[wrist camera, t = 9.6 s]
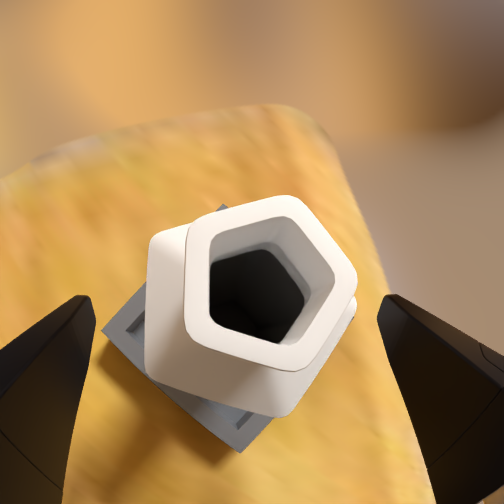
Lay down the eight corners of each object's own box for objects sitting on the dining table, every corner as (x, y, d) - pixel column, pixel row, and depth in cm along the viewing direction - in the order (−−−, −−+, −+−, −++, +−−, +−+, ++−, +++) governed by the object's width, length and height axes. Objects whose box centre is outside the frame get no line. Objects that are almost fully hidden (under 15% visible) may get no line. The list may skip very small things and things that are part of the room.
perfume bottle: (167, 322, 18) (21, 236, 3) (229, 279, 19) (279, 87, 5) (214, 386, 17) (224, 533, 3) (275, 342, 18) (467, 320, 4)
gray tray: (338, 320, 20) (354, 317, 17) (236, 441, 17) (240, 453, 15) (221, 219, 21) (223, 203, 18) (114, 332, 18) (101, 330, 16)
